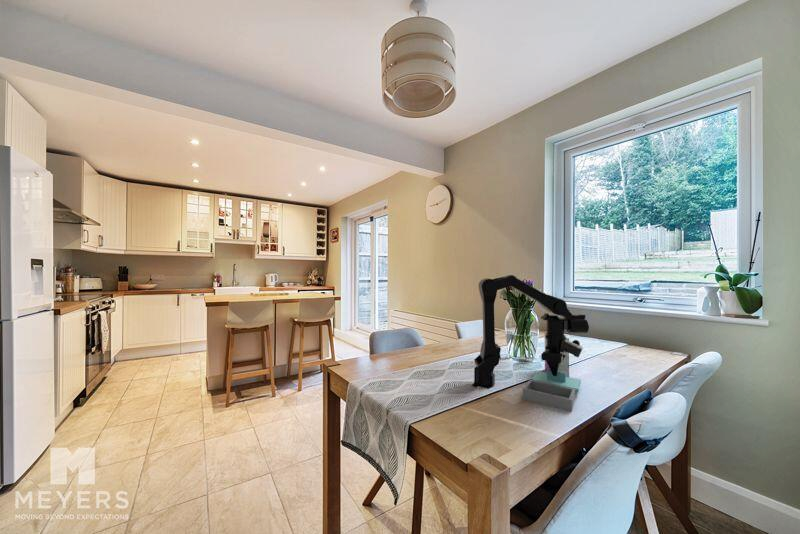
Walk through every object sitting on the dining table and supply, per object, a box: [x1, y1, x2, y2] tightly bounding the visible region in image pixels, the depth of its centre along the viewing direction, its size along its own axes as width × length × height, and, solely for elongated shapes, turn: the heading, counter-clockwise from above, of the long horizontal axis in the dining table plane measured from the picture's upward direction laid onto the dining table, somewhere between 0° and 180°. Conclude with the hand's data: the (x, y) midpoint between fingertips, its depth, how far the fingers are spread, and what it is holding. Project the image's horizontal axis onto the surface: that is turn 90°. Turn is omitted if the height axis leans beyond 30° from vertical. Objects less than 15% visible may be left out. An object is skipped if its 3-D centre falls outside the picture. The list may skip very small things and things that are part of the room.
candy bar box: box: [544, 331, 570, 377], centre depth 123 cm, size 11×5×16 cm, turn 179°
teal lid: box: [531, 369, 582, 392], centre depth 108 cm, size 15×11×5 cm
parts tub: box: [522, 379, 576, 412], centre depth 98 cm, size 14×10×4 cm
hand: (555, 375), depth 108 cm, fingers closed on teal lid
